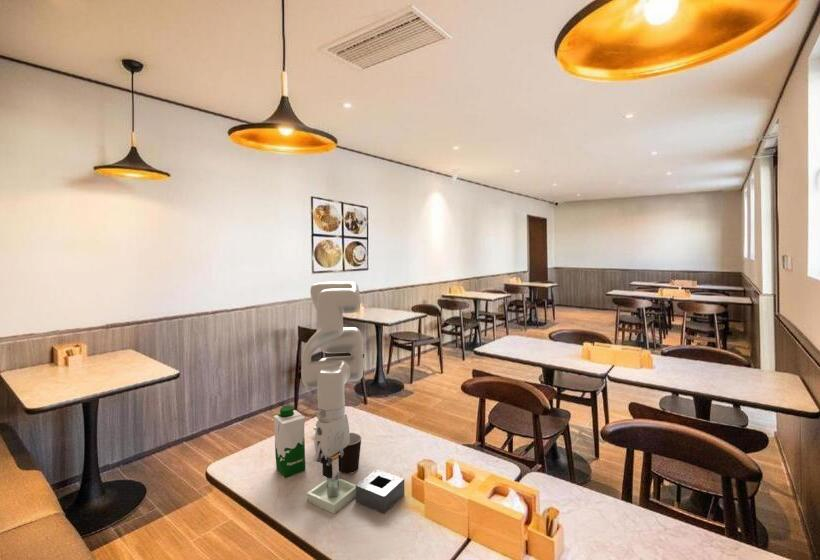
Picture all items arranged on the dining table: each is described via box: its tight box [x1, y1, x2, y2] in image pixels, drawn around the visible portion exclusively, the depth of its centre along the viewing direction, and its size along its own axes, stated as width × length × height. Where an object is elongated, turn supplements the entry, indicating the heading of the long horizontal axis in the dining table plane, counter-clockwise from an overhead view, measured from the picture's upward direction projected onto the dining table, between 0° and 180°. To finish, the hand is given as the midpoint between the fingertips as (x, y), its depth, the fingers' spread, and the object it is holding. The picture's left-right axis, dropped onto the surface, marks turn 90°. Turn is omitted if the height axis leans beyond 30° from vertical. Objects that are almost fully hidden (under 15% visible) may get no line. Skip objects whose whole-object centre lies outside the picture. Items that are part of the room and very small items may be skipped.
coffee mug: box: [340, 432, 362, 475], centre depth 132 cm, size 12×9×10 cm
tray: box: [306, 477, 357, 515], centre depth 115 cm, size 10×10×2 cm
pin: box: [325, 452, 340, 497], centre depth 115 cm, size 4×4×12 cm
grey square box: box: [355, 468, 405, 515], centre depth 114 cm, size 10×10×5 cm
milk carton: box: [273, 405, 306, 479], centre depth 129 cm, size 9×9×20 cm
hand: (332, 472), depth 115 cm, fingers closed on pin, 3 cm apart
